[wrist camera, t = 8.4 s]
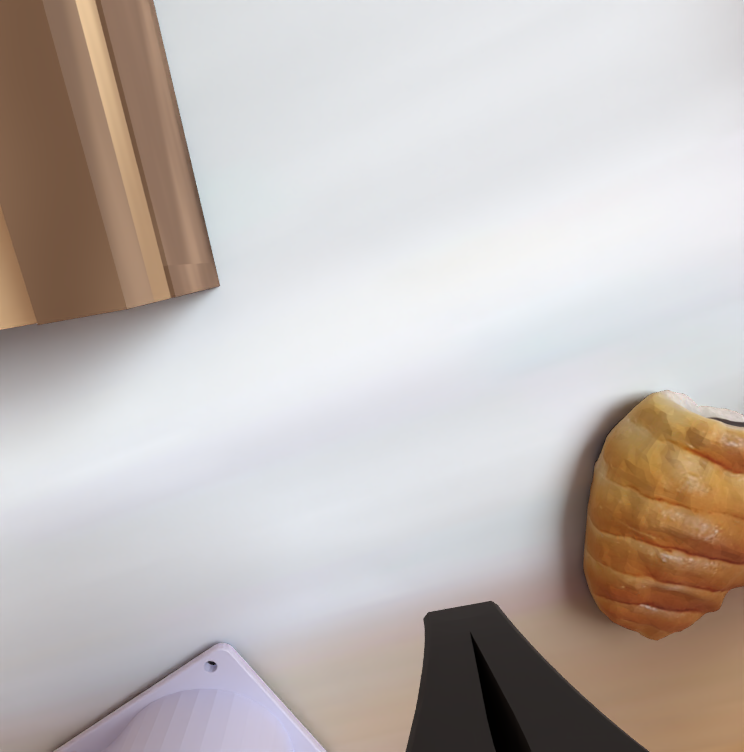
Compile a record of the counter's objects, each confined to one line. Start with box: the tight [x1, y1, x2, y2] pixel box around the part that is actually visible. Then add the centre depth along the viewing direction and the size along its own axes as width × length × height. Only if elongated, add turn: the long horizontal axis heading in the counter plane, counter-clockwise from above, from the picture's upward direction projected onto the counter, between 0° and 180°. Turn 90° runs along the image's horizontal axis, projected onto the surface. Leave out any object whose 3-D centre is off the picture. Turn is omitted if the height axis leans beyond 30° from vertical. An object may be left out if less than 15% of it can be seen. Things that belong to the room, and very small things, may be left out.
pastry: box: [583, 390, 744, 640], centre depth 20 cm, size 9×7×4 cm
